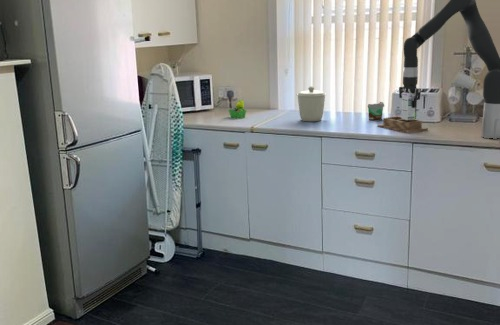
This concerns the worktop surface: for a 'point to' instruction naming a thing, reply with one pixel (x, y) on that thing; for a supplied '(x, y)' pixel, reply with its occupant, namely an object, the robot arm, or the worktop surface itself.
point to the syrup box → (408, 107)
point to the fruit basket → (238, 110)
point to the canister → (311, 104)
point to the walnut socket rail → (402, 125)
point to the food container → (375, 111)
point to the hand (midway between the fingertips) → (409, 106)
